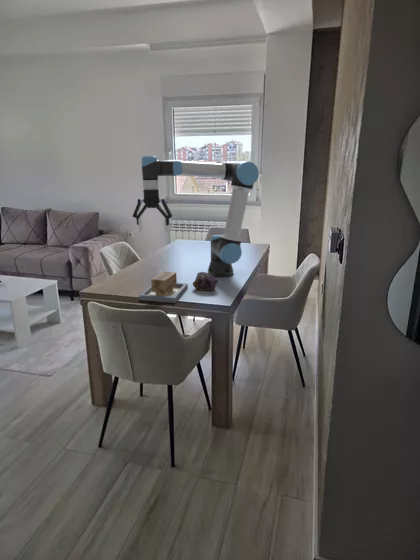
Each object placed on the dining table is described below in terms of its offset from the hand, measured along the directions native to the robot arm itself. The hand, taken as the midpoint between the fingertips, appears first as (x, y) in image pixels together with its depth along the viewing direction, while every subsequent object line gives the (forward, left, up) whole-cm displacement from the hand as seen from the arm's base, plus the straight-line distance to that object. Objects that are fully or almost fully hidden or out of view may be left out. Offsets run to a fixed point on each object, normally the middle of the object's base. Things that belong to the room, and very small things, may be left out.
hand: (153, 231), depth 194 cm
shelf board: (-8, +10, -27) cm, 30 cm away
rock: (-27, -1, -30) cm, 40 cm away
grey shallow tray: (-8, +10, -30) cm, 32 cm away
